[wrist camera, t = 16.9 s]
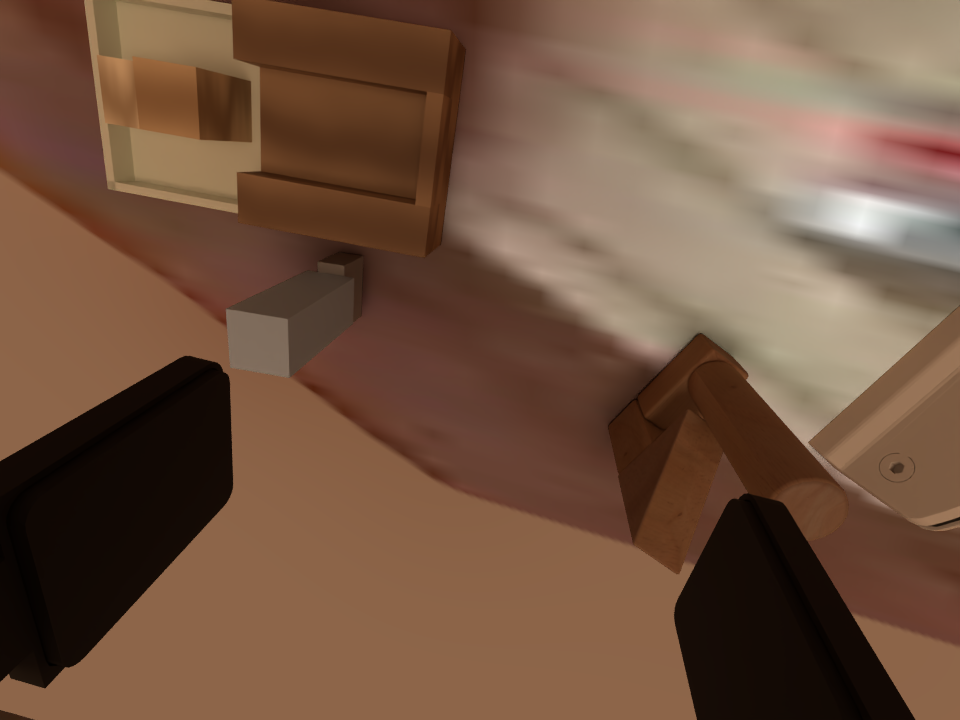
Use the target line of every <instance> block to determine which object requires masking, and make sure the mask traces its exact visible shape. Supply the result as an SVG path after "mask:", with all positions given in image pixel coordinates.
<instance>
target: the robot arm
mask: <svg viewBox="0 0 960 720" xmlns="http://www.w3.org/2000/svg"><path fill="white" fill-rule="evenodd" d="M231 437H232V436H231V406H230V381H229V376H228V375H227V374H226V373H224V372H223V369H222V367H221V366H220V364H218V363H216V362H212V361H208V360H204V359H199V358H196V357H192V356H184V357H181V358H179V359H177V360H176V361H174V362H172V363H171V364H169V365H167V366H165V367H164V368H162V369H160V370H159V371H157V372H155V373H153V374H151V375H150V376H148V377H146V378H145V379H143V380H141V381H139V382H137V383H136V384H134V385H132V386H131V387H129V388H127V389H125V390H124V391H122V392H120V393H118V394H117V395H115V396H113V397H111V398H110V399H108V400H106V401H104V402H103V403H101V404H99V405H98V406H96V407H94V408H92V409H90V410H89V411H87V412H85V413H83V414H82V415H80V416H78V417H77V418H75V419H73V420H71V421H70V422H68V423H66V424H64V425H63V426H61V427H59V428H57V429H56V430H54V431H52V432H51V433H49V434H47V435H45V436H43V437H42V438H40V439H38V440H37V441H35V442H33V443H31V444H30V445H28V446H26V447H24V448H23V449H21V450H19V451H17V452H16V453H14V454H12V455H10V456H9V457H7V458H5V459H3V460H2V461H0V681H2V680H3V679H4V678H5V677H6V676H7V675H8V674H9V675H10V678H11V679H15V680H18V681H22V682H25V683H29V684H32V685H35V686H39V687H42V688H46V687H47V686H48V685H49V684H50V683H51V682H52V681H53V679H54V678H55V677H56V676H57V675H58V674H59V673H60V672H61V671H62V670H63V669H64V668H65V667H71V666H74V665H76V664H77V663H79V662H80V661H81V660H82V659H83V658H84V657H85V656H86V655H87V654H88V653H89V652H90V651H91V650H92V648H94V646H95V645H96V644H97V643H98V642H99V641H100V640H101V639H102V638H103V637H104V636H105V635H106V633H107V632H108V631H109V630H110V629H111V628H112V627H113V626H114V625H115V623H117V622H118V620H119V619H120V618H121V617H122V616H123V615H124V614H125V613H126V612H127V611H128V610H129V608H130V607H131V606H132V605H133V604H134V603H135V602H136V601H137V600H138V599H139V598H140V597H141V595H142V594H143V593H144V592H145V591H146V590H147V589H148V588H149V587H150V586H151V585H152V584H153V582H154V581H155V580H156V579H157V578H158V577H159V576H160V575H161V574H162V573H163V572H164V570H165V569H166V568H167V567H168V566H169V565H170V564H171V563H172V562H173V561H174V560H175V558H176V557H177V556H178V555H179V554H180V553H181V552H182V551H183V550H184V549H185V548H186V547H187V546H188V544H189V543H190V542H191V541H192V540H193V539H194V538H195V537H196V536H197V535H198V534H199V533H200V531H201V530H202V529H203V528H204V527H205V526H206V525H207V524H208V523H209V522H210V521H211V519H212V518H213V517H214V516H215V515H216V514H217V513H218V512H219V511H220V510H221V509H222V508H223V506H224V505H225V504H226V503H227V501H228V499H229V498H230V495H231V493H232V489H233V466H232V440H231V439H232V438H231ZM674 619H675V626H676V630H677V635H678V639H679V644H680V648H681V652H682V657H683V661H684V665H685V670H686V674H687V678H688V683H689V687H690V691H691V696H692V700H693V704H694V709H695V713H696V717H697V720H915V718H914V717H913V715H912V713H911V712H910V710H909V708H908V707H907V705H906V703H905V702H904V700H903V698H902V697H901V695H900V693H899V692H898V690H897V689H896V687H895V685H894V684H893V682H892V680H891V679H890V677H889V675H888V674H887V672H886V670H885V669H884V667H883V665H882V664H881V662H880V661H879V659H878V657H877V656H876V654H875V652H874V651H873V649H872V647H871V646H870V644H869V643H868V641H867V639H866V637H865V636H864V635H863V632H862V631H861V629H860V627H859V626H858V624H857V622H856V621H855V619H854V618H853V616H852V614H851V613H850V611H849V609H848V608H847V606H846V604H845V603H844V601H843V599H842V598H841V596H840V594H839V593H838V591H837V589H836V588H835V586H834V585H833V583H832V581H831V580H830V578H829V576H828V575H827V573H826V571H825V570H824V568H823V566H822V565H821V563H820V561H819V560H818V558H817V556H816V555H815V553H814V552H813V550H812V548H811V547H810V545H809V543H808V542H807V540H806V538H805V537H804V535H803V533H802V532H801V530H800V528H799V527H798V525H797V523H796V522H795V520H794V518H793V517H792V515H791V514H790V512H789V510H788V509H787V507H786V506H785V505H784V503H782V502H780V501H777V500H773V499H769V498H765V497H761V496H757V495H753V494H749V493H747V494H743V495H742V496H741V497H740V498H739V499H731V500H730V501H729V502H728V504H727V505H726V507H725V509H724V511H723V513H722V515H721V517H720V519H719V521H718V523H717V525H716V527H715V528H714V530H713V532H712V534H711V536H710V538H709V540H708V542H707V544H706V546H705V548H704V550H703V552H702V554H701V555H700V557H699V559H698V561H697V563H696V565H695V567H694V569H693V571H692V573H691V575H690V577H689V579H688V581H687V583H686V584H685V586H684V588H683V590H682V592H681V594H680V596H679V598H678V600H677V603H676V606H675V612H674ZM0 720H33V719H30V718H26V717H23V716H19V715H16V714H13V713H9V712H5V711H1V710H0Z"/></svg>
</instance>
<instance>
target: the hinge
mask: <svg viewBox="0 0 960 720" xmlns="http://www.w3.org/2000/svg"><path fill="white" fill-rule="evenodd" d="M808 443H809V444H810V445H811V446H812V447H813V448H814V449H815V450H817V451H818V452H819V453H820V454H821V455H822V456H823V457H824V458H825V459H826V460H827V461H828V462H829V463H830V464H831V465H832V466H833V467H834V468H835V469H837V470H838V471H840V472H841V473H842V474H844V475H845V476H847V477H848V478H849V479H851V480H852V481H854V482H855V483H856V484H858V485H859V486H860V487H862V488H863V489H865V490H866V491H867V492H869V493H870V494H872V495H873V496H874V497H876V498H877V499H879V500H880V501H881V502H883V503H884V504H886V505H887V506H888V507H890V508H891V509H893V510H894V511H895V512H897V513H898V514H900V515H901V516H902V517H904V518H905V519H906V520H908V521H909V522H912V523H914V524H916V525H918V526H919V527H922V528H924V529H927V530H933V531H945V530H949V529H953V528H957V527H960V306H959V307H958V308H957V309H956V310H955V311H953V312H952V313H951V314H950V315H949V316H948V317H947V318H946V319H945V320H943V321H942V322H941V323H940V324H939V325H938V326H937V327H936V328H935V329H933V330H932V331H931V332H930V333H929V334H928V335H927V336H926V337H925V338H923V339H922V340H921V341H920V342H919V343H918V344H917V345H916V346H915V347H914V348H912V349H911V350H910V351H909V352H908V353H907V354H906V355H905V356H904V357H902V358H901V359H900V360H899V361H898V362H897V363H896V364H895V365H894V366H892V367H891V368H890V369H889V370H888V371H887V372H886V373H885V374H884V375H883V376H881V377H880V378H879V379H878V380H877V381H876V382H875V383H874V384H873V385H871V386H870V387H869V388H868V389H867V390H866V391H865V392H864V393H863V394H861V395H860V396H859V397H858V398H857V399H856V400H855V401H854V402H853V403H851V404H850V405H849V406H848V407H847V408H846V409H845V410H844V411H843V412H842V413H840V414H839V415H838V416H837V417H836V418H835V419H834V420H833V421H832V422H830V423H829V424H828V425H827V426H826V427H825V428H824V429H823V430H822V431H820V432H819V433H818V434H817V435H816V436H815V437H814V438H813V439H812V440H811V441H809V442H808Z"/></svg>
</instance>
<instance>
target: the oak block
mask: <svg viewBox="0 0 960 720" xmlns="http://www.w3.org/2000/svg"><path fill="white" fill-rule="evenodd" d="M132 58H133V69H134V79H135V89H136V99H137V109H138V119H139V129H142V130H148V131H154V132H159V133H165V134H170V135H176V136H181V137H187V138H193V139H198V140H214V141H233V142H252V105H251V81H248V80H244V79H240V78H237V77H233V76H229V75H225V74H221V73H217V72H213V71H209V70H205V69H201V68H198V67H193V66H187V65H181V64H175V63H169V62H163V61H158V60H152V59H146V58H140V57H134V56H132Z"/></svg>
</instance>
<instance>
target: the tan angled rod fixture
mask: <svg viewBox="0 0 960 720" xmlns="http://www.w3.org/2000/svg"><path fill="white" fill-rule="evenodd" d="M747 378H748V373H747V372H746V371H745V370H744V369H743V367H742V366H741V365H740V364H739V363H738V362H737V361H736V360H735V359H734V358H733V357H732V356H731V355H729V354H728V353H727V352H726V351H724V350H723V349H722V348H720V347H719V346H718V345H716V344H715V343H714V342H712V341H711V340H710V339H709V338H707V337H706V336H705V335H703V334H699V335H697V336H696V337H695V339H694V340H693V341H692V342H691V343H690V344H689V345H688V346H687V347H686V348H685V349H684V350H683V351H682V352H681V353H680V354H679V355H678V356H677V357H676V358H675V359H674V360H673V361H672V362H671V363H670V364H669V365H668V366H667V367H666V368H665V369H664V370H663V371H662V372H661V373H660V374H659V375H658V376H657V377H656V378H655V379H654V380H653V381H652V382H651V383H650V384H649V385H648V386H647V387H646V388H645V389H644V390H643V391H642V392H641V393H640V394H639V396H638V398H637V399H638V400H634V401H632V402H631V403H630V404H629V405H628V406H627V407H626V408H625V410H624V411H623V412H622V413H621V414H620V415H619V416H618V417H617V418H616V419H615V420H614V421H613V422H612V423H611V424H610V425H609V427H608V430H609V434H610V439H611V443H612V448H613V452H614V456H615V461H616V465H617V470H618V473H619V475H618V478H619V483H620V487H621V492H622V496H623V501H624V505H625V510H626V514H627V519H628V523H629V528H630V532H631V537H632V541H633V544H634V545H635V546H636V547H638V548H639V549H641V550H642V551H644V552H645V553H646V554H648V555H649V556H651V557H653V558H654V559H655V560H657V561H658V562H660V563H661V564H663V565H664V566H665V567H667V568H668V569H670V570H671V571H673V572H674V573H676V574H679V573H680V571H681V568H682V565H683V563H684V560H685V557H686V554H687V551H688V549H689V546H690V543H691V540H692V537H693V535H694V532H695V529H696V526H697V523H698V521H699V518H700V515H701V512H702V509H703V507H704V504H705V501H706V498H707V496H708V493H709V490H710V487H711V484H712V482H713V479H714V476H715V473H716V470H717V468H718V465H719V462H720V459H721V456H722V454H723V451H724V453H725V455H726V456H727V458H728V460H729V461H730V463H731V465H732V466H733V468H734V470H735V471H736V473H737V475H738V476H739V478H740V480H741V481H742V483H743V485H744V486H745V488H746V490H747V491H748V493H749V494H753V495H757V496H761V497H765V498H769V499H773V500H777V501H780V502H782V503H784V505H785V506H786V507H787V509H788V510H789V512H790V514H791V515H792V517H793V518H794V520H795V522H796V523H797V525H798V527H799V528H800V530H801V532H802V533H803V535H804V537H805V538H806V540H807V541H812V540H816V539H819V538H823V537H825V536H827V535H829V534H831V533H833V532H834V531H836V530H837V529H838V528H839V527H840V526H841V525H842V524H843V522H844V520H845V519H846V517H847V515H848V507H849V503H848V499H847V496H846V493H845V491H844V490H843V489H842V488H841V487H840V485H839V484H838V483H837V482H836V481H835V480H834V479H833V478H832V476H831V475H830V474H829V473H828V472H827V471H826V470H825V469H824V467H823V466H822V465H821V464H820V463H819V462H818V461H817V460H816V458H815V457H814V456H813V455H812V454H811V453H810V452H809V451H808V449H807V448H806V447H805V446H804V445H803V444H802V443H801V442H800V440H799V439H798V438H797V437H796V436H795V435H794V434H793V433H792V431H791V430H790V429H789V428H788V427H787V426H786V425H785V424H784V422H783V421H782V420H781V419H780V418H779V417H778V416H777V415H776V413H775V412H774V411H773V410H772V409H771V408H770V407H769V406H768V404H767V403H766V402H765V401H764V400H763V399H762V398H761V397H760V396H759V394H758V393H757V392H756V391H755V390H754V389H753V388H752V387H751V385H750V384H749V383H748V382H747V381H746V379H747Z"/></svg>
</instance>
